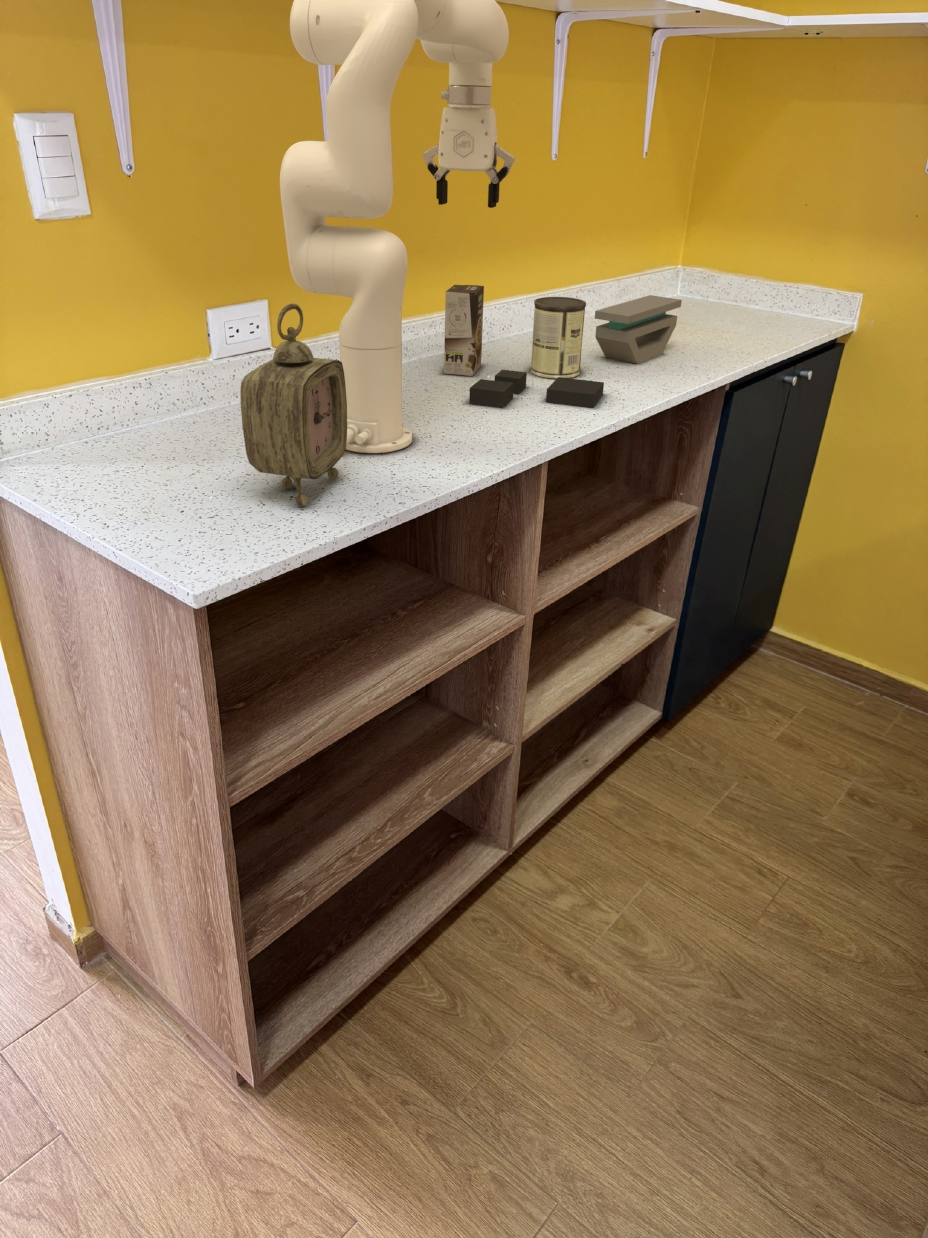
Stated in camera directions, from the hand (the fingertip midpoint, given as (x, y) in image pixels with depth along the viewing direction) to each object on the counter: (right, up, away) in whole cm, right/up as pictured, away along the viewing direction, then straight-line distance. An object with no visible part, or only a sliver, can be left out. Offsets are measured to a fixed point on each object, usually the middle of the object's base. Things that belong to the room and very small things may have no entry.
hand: (467, 205), depth 163 cm
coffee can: (+18, -26, +19) cm, 37 cm away
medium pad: (+4, -36, 0) cm, 37 cm away
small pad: (+8, -32, +7) cm, 34 cm away
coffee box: (-1, -26, +19) cm, 32 cm away
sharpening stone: (+37, -18, +33) cm, 53 cm away
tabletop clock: (-24, -59, -40) cm, 75 cm away
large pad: (+20, -35, +3) cm, 41 cm away
